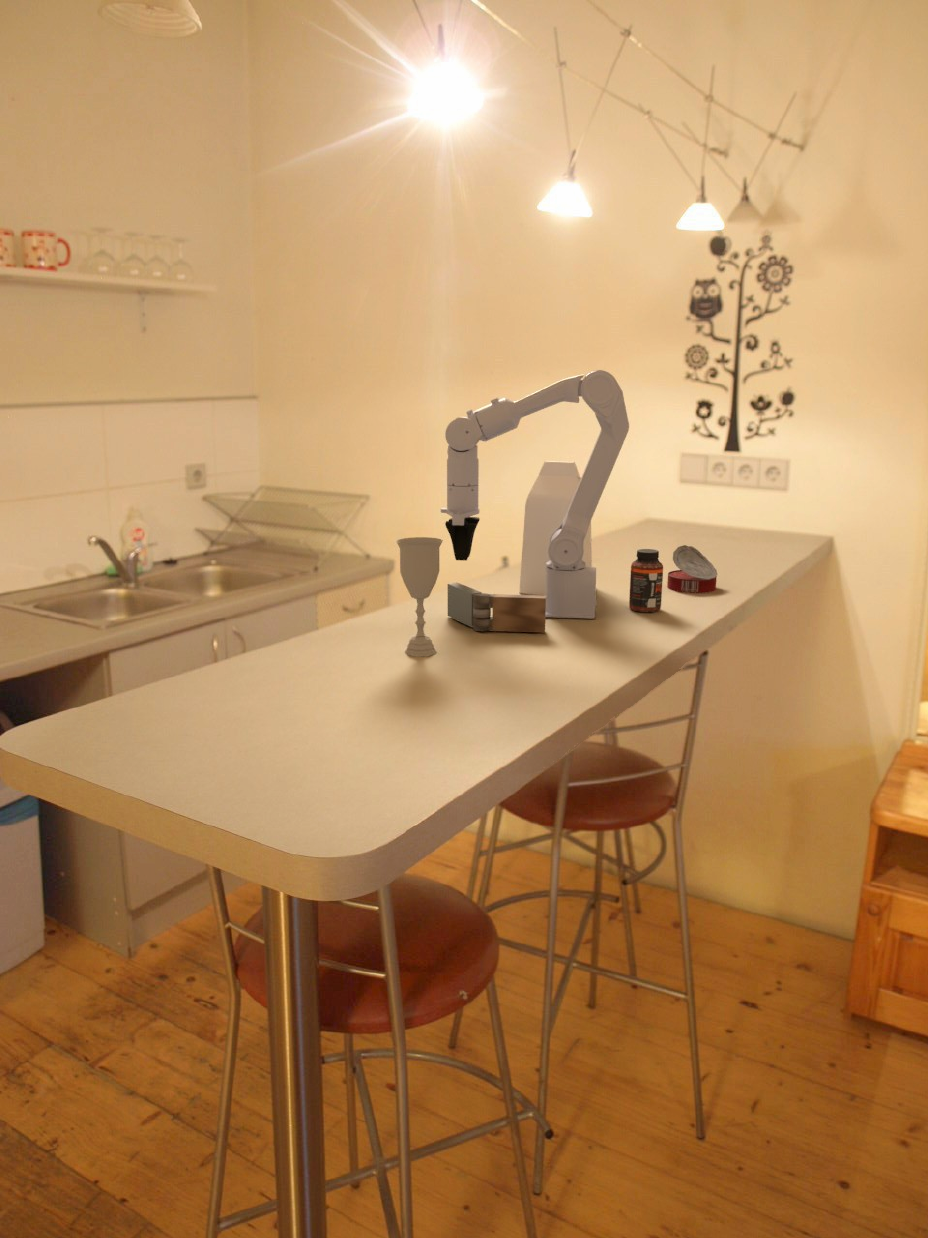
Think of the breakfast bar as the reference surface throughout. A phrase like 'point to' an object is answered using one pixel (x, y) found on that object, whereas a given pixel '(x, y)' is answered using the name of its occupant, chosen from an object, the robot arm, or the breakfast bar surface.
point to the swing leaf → (464, 604)
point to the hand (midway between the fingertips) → (462, 558)
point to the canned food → (691, 572)
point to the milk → (547, 522)
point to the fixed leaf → (511, 612)
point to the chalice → (419, 583)
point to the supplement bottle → (646, 582)
